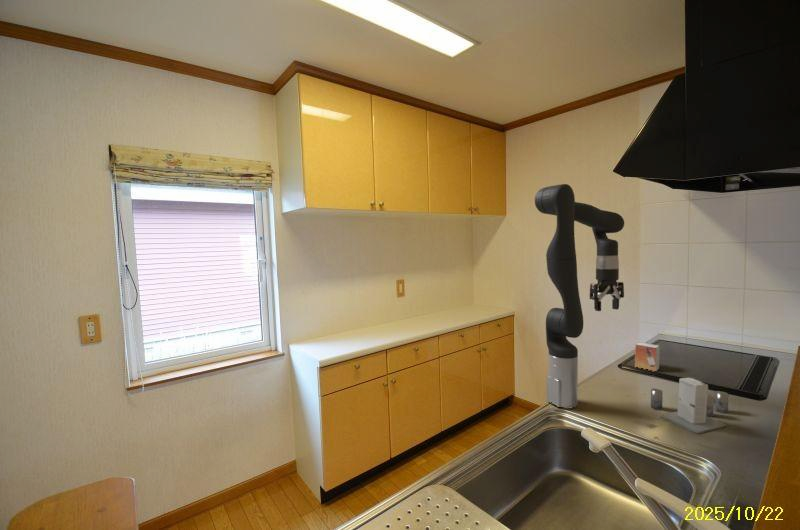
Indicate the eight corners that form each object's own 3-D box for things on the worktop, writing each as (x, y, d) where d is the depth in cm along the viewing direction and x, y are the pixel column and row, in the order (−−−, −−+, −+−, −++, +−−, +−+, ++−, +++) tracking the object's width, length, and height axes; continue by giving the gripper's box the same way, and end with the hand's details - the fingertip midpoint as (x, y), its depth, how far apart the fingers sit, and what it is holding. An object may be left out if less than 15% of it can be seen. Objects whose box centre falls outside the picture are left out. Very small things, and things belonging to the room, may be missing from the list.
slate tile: (697, 433, 106) (697, 431, 106) (660, 416, 116) (660, 415, 116) (725, 426, 109) (725, 424, 109) (686, 410, 120) (686, 409, 120)
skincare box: (676, 415, 116) (677, 377, 115) (689, 414, 116) (690, 377, 115) (694, 424, 109) (695, 385, 109) (707, 423, 110) (708, 384, 109)
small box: (634, 367, 161) (634, 344, 160) (638, 364, 165) (638, 341, 164) (656, 372, 155) (656, 347, 155) (659, 368, 159) (659, 345, 158)
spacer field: (686, 423, 112) (686, 404, 111) (648, 406, 123) (648, 389, 123) (732, 411, 118) (733, 393, 118) (692, 397, 130) (692, 380, 130)
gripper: (600, 268, 132) (600, 313, 133) (630, 267, 136) (629, 310, 137) (584, 267, 139) (584, 309, 140) (613, 266, 143) (612, 307, 144)
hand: (606, 310), depth 138 cm, fingers open, 8 cm apart
